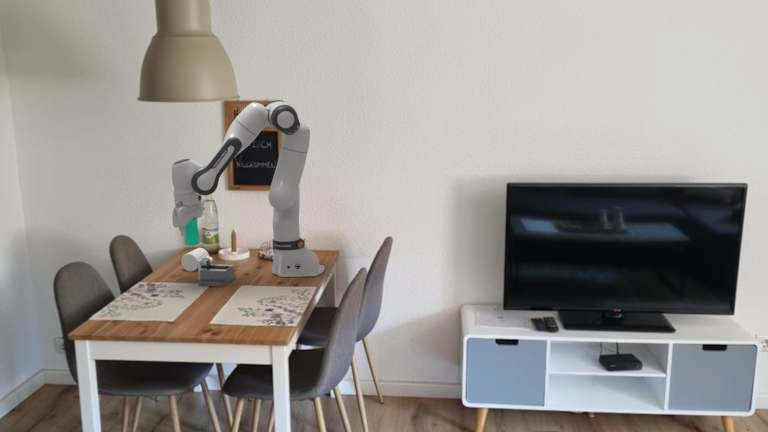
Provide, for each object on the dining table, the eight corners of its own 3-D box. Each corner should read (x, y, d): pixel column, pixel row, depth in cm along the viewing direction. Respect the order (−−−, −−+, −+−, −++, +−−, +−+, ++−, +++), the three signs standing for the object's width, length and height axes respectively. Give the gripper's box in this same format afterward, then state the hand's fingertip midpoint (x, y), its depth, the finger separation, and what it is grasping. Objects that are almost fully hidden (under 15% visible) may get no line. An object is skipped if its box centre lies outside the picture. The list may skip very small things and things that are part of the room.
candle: (202, 241, 309) (198, 213, 306) (197, 245, 303) (193, 217, 300) (188, 241, 310) (184, 213, 306) (183, 246, 304) (179, 217, 301)
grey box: (235, 277, 311) (234, 263, 309) (224, 286, 299) (223, 271, 298) (210, 277, 313) (209, 262, 311) (199, 285, 301) (197, 271, 300)
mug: (182, 270, 323) (180, 253, 321) (194, 264, 332) (192, 247, 331) (206, 272, 320) (205, 254, 318) (218, 266, 329) (216, 248, 327)
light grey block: (225, 275, 308) (224, 258, 306) (220, 279, 302) (219, 262, 301) (204, 274, 310) (203, 258, 308) (198, 278, 304) (197, 262, 302)
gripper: (181, 205, 290) (185, 239, 293) (203, 194, 310) (206, 227, 313) (166, 205, 291) (170, 239, 294) (189, 194, 311) (192, 227, 314)
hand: (189, 233), depth 304 cm, fingers open, 8 cm apart
